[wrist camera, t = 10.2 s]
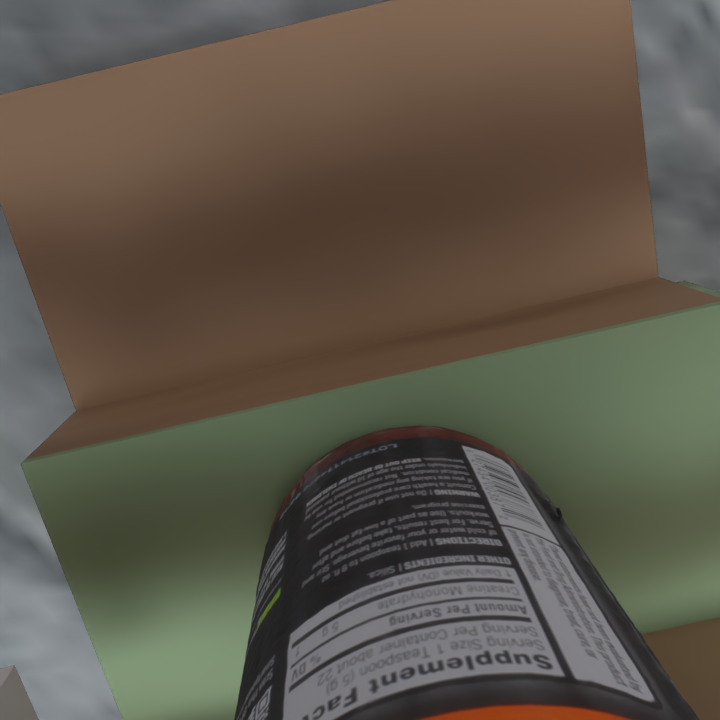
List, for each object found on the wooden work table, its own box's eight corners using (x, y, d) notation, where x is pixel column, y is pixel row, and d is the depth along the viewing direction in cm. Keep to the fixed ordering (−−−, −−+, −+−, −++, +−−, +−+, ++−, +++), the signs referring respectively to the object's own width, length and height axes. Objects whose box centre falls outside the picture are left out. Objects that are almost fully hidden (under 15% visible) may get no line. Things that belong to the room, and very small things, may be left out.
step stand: (25, 114, 17) (-291, 59, 8) (718, -53, 17) (1136, -290, 8) (248, 761, 23) (197, 1124, 14) (765, 649, 22) (1038, 952, 14)
